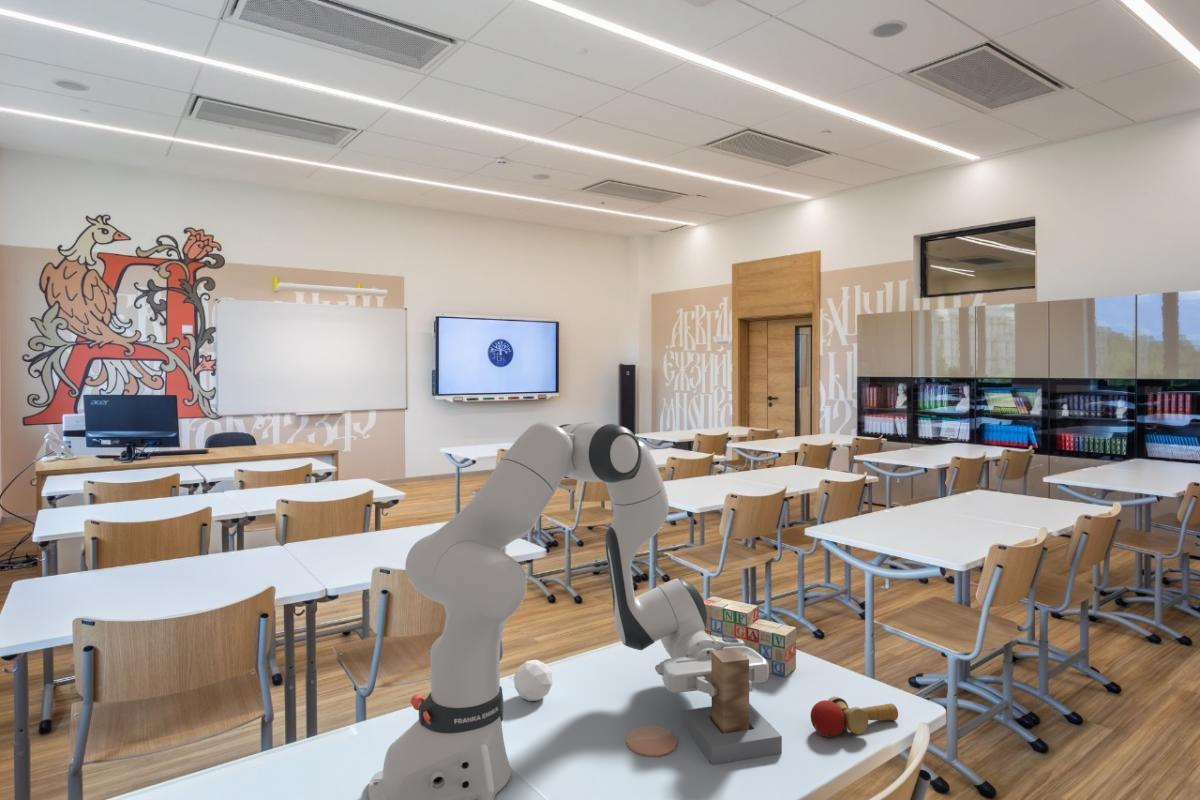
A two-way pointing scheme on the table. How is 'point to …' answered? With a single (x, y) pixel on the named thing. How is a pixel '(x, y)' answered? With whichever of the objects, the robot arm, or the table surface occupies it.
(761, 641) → the stack of blocks
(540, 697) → the geometric ball
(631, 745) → the terracotta coaster
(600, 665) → the table surface
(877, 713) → the kendama
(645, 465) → the robot arm
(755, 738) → the pocket holder
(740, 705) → the walnut block
